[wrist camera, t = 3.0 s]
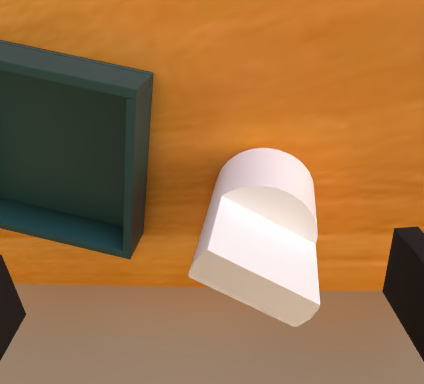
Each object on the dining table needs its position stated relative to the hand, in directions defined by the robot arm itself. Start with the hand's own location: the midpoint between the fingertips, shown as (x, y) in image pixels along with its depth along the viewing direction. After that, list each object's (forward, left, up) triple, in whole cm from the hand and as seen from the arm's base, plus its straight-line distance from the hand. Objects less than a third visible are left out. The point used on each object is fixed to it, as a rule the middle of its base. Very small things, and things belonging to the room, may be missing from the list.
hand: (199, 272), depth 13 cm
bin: (-13, +14, -20) cm, 28 cm away
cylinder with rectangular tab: (-9, -6, -21) cm, 23 cm away
